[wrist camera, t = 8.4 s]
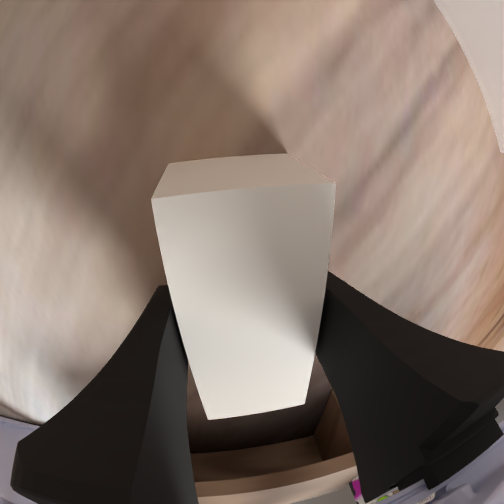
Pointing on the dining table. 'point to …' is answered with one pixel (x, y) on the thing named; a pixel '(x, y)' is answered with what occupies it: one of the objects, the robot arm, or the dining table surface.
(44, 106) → the dining table surface
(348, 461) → the cubby
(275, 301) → the block
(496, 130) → the white tapered slotted holder
